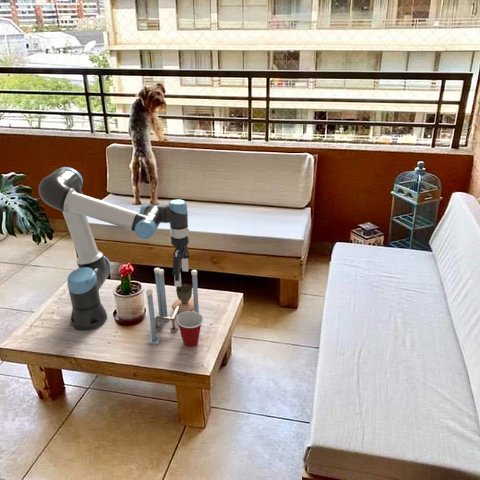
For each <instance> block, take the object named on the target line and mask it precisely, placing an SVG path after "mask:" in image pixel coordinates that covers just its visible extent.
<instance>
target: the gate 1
mask: <svg viewBox="0 0 480 480" xmlns="http://www.w3.org/2000/svg"><path fill="white" fill-rule="evenodd" d="M158 274H159V281H160V291H161V302H162V312H163V317H172V314H168V308H167V307H168V305H167V295H166V285H165V275H164V274H165V270H164V269H163V268H160V270H158ZM153 292H154V291H153V289H151V288H148V289H146V291H145V294H146V299H147V307H148V313H149V314H148V316H149V324H150V330H151V331H150V332H151V334H150V335H151V336H150V339H149V340H148V345H154V346H155V345H157V346H159V344H160V342H161V339H162V337H161V336H157V331H156V324H155V317H156V316H155V309H154V308H155V307H154V297H153ZM159 321H160V322H170V320H162V319H159Z"/></svg>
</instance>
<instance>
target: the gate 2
mask: <svg viewBox="0 0 480 480" xmlns="http://www.w3.org/2000/svg"><path fill="white" fill-rule="evenodd" d="M160 269H161V268H160V267H155V268H154V269H153V271H154V276H155V277H154V278H155V285H156V287H155V288H156V297H157V307H158V313H156V314H157V315H156V316H163V312H162V302H161V291H160V281H159V274H158V270H160ZM190 272H191V273H190V274H191V276H192V277H191V281H192V294H193V295H192V296H193V298H192V299H193V300H194V309H193V311H194V312H197V313H199V314H200V309H199V307H200V306H199V293H198V291H199V290H198V289H199V288H198V271H197V270H196V269H192V270H191V271H190Z"/></svg>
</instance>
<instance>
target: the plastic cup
mask: <svg viewBox="0 0 480 480" xmlns="http://www.w3.org/2000/svg"><path fill="white" fill-rule="evenodd" d="M176 316H177V315H176ZM175 321H176V323H177V325H178V326H177V327H178V329H179V331H180V336H181V338H182V342H183V344H184V346H186V347H195V346H197V345H198V343H199V339H200V338H199V337H200V333H201V328H202V324H203V323H204V317H203V314H201V313H200V312H199V313H197V312H194V310H191V311H186V312H180V314H179V315H178V316H177V318H176V317H175Z"/></svg>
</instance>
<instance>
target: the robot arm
mask: <svg viewBox="0 0 480 480" xmlns="http://www.w3.org/2000/svg"><path fill="white" fill-rule="evenodd" d="M83 182H84V179H83V176H82V174H81V173H80V172H79V171H78V170H76V169H74V168H72V167H68V166H63V167H60V168H57V169H55V170H53V171H52V173H50V174H49V175H47V176H45V177H44V178H42V180H41V181H40V183H39V185H38V194H39V197H40V198H41V200H42V201H43V202H44V203H45V204H46V205H48V206H49V207H52V208H53V209H56V210H58V211H61V212H62V214H63V218H64V221H65V222H66V226H67V229H68V231H69V234H70V236H71V240H72V242H73V244H74V248H75V250H76V254H77V255H78V256H77V259H76V264H77V267H78V268H77V269H76V270H72V271H71V272H70V273H69V274H68V276H67V279H66V282H67V284H66V285H67V288H68V293H69V297H70V302H71V303H70V304H71V308H72V309H71V313H70V314H71V315H70V323H71V326H72V328H73V329H75V330H77V331H90V330H95V329H97V328H99V327H101V326H102V325H104V324H105V323H106V321H107V319H108V314H107V310H106V309H105V308H104V306H103V304H102V303H101V299H100V298H101V296H100V289H101V287H102V286H103V285H104V283H105V282H106V281H107V279H108V278H109V276H110V273H111V271H112V266H111V262H110V260H109V259H108V257H106V256H105V255H104V253H103V252H102V251H100V250H98V246H97V244H96V240H95V238H94V235H93V232H92V229H91V226H90V223H89V220H88V217H89V218H90V219H95V220H98V221H101V222H104V223H108V224H111V225H114V226H117V227H120V228H123V229H126V230H129V231H133V232H135V235H136V237H138V238H140V239H142V240H148V239H151V238H152V237H153V236H154V234H156V232H157V229H158V227H159V225H160V224H169V225H170V226H169V229H170V243H171V246H173V247H175V248H174V251H173V259H172V272H171V275H173V276H174V277H173V278H174V287H181V284H182V274H181V271H182V272H189V259H190V252H189V249H188V248H189V247H188V244H189V241H190V239H189V231H190V228H189V217H188V213H189V211H188V203H187V202H186V201H185V200H183V199H178V198H177V199H172V200H170V201H169V202H168V204H151V203H150V204H141V206H140V209H139V212H137V211H134V210H130V209H127V208H124V207H122V206H118V205H115V204H113V203H110V202H107V201H104V200H102V199H98V198H94V197H93V196H89V195H85V194H84V193H83V191H82V187H83V186H84V185H83ZM188 258H189V259H188Z"/></svg>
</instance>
